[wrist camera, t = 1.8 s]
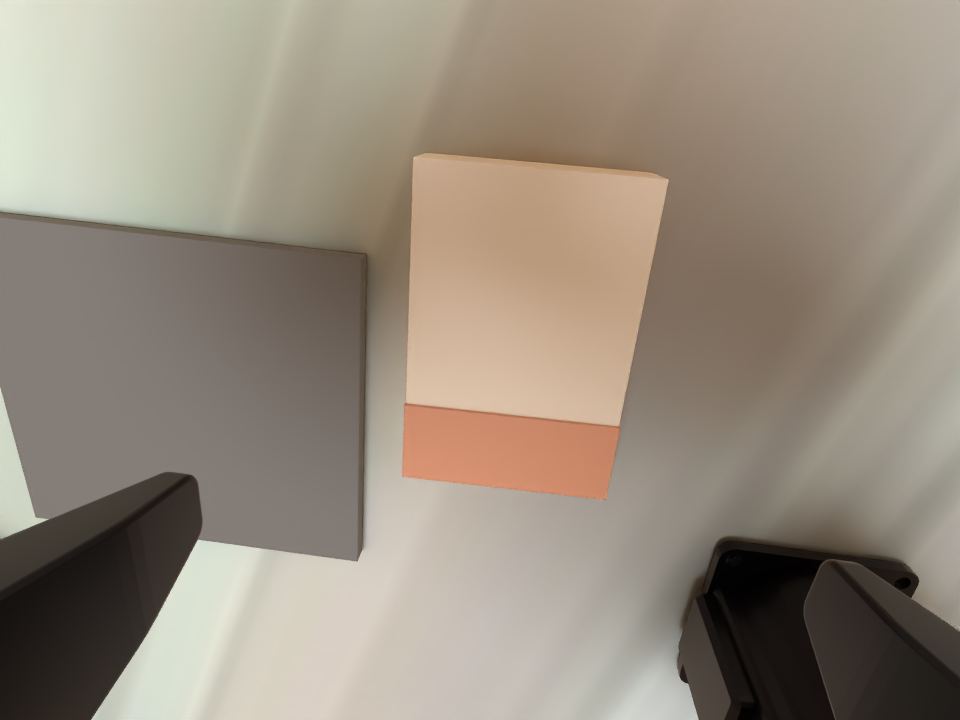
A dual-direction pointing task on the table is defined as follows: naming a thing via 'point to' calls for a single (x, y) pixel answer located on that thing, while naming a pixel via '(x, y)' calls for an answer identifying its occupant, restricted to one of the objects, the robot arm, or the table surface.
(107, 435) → the card mat
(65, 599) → the robot arm
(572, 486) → the card deck
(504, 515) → the table surface
